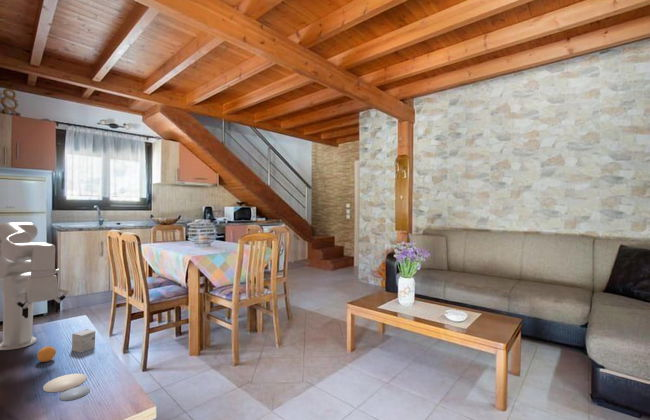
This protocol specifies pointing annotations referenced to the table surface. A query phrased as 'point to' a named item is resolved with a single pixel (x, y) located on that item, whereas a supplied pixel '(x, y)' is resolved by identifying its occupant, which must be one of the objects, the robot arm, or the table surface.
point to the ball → (46, 354)
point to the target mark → (64, 382)
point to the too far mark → (74, 393)
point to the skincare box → (83, 340)
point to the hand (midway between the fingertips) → (41, 314)
